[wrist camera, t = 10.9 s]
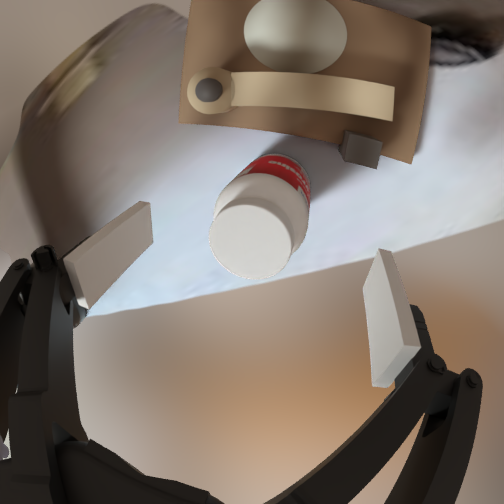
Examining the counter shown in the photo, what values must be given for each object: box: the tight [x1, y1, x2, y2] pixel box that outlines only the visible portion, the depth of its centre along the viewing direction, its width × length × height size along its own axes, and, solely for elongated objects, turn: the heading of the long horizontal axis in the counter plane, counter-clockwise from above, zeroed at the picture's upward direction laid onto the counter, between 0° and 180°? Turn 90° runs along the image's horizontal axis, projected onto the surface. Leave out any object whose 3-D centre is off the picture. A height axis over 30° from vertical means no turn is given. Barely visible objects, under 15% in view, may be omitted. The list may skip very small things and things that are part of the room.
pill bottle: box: [209, 154, 311, 279], centre depth 19 cm, size 6×6×11 cm
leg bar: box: [187, 67, 395, 121], centre depth 16 cm, size 14×4×4 cm, turn 90°
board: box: [179, 0, 431, 169], centre depth 16 cm, size 20×14×5 cm
